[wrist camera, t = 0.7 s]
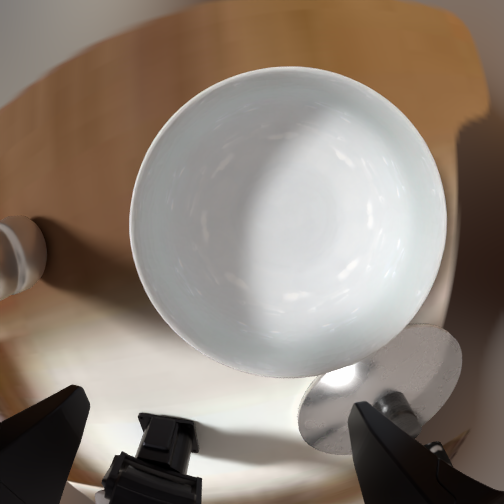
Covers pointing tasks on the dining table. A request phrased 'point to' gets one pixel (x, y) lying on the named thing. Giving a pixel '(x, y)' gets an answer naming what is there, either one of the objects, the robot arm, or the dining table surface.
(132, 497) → the robot arm
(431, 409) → the steel lid
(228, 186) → the cereal bowl
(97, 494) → the coffee pot
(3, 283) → the plastic bottle
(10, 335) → the dining table surface
